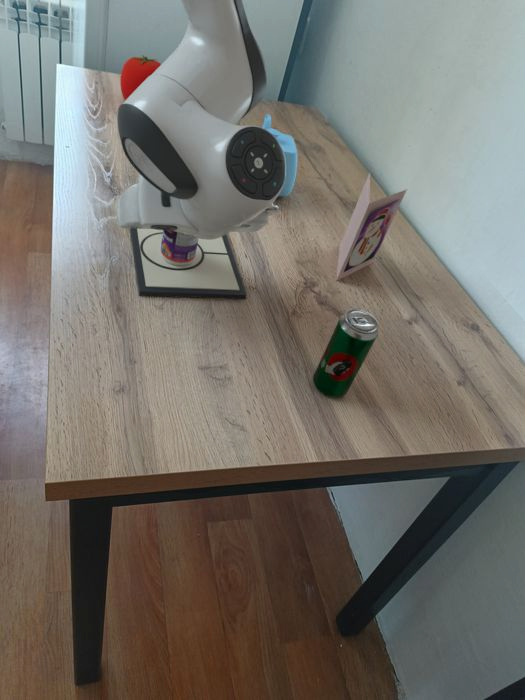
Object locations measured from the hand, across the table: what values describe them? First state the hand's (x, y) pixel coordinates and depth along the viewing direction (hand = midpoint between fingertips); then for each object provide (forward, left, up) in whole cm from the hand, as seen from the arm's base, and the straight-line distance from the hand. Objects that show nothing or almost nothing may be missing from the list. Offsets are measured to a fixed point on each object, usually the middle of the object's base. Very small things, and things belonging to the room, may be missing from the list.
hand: (181, 225), depth 80 cm
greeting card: (+21, +22, -7) cm, 31 cm away
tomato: (-39, +42, -7) cm, 58 cm away
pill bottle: (0, 0, -6) cm, 6 cm away
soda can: (+31, -8, -7) cm, 32 cm away
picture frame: (0, +2, -6) cm, 7 cm away
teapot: (-4, +35, -7) cm, 36 cm away
